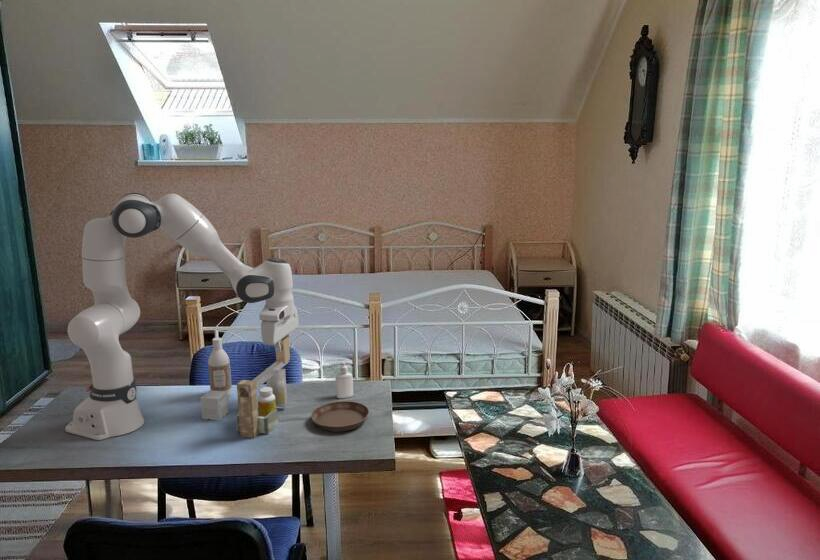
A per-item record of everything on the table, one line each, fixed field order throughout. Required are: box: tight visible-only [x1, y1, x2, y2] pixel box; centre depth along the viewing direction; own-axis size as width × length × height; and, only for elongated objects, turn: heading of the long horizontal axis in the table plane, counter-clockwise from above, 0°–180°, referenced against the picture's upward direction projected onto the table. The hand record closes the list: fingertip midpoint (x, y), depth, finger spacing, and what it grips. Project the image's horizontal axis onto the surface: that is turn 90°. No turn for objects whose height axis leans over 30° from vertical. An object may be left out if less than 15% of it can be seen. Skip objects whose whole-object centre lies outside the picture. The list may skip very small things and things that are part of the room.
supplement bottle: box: [257, 386, 277, 417], centre depth 196 cm, size 5×5×10 cm
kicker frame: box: [235, 379, 279, 439], centre depth 187 cm, size 10×10×17 cm
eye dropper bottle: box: [335, 362, 354, 399], centre depth 211 cm, size 4×6×12 cm
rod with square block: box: [244, 336, 291, 408], centre depth 196 cm, size 6×26×21 cm, turn 166°
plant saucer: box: [311, 400, 370, 433], centre depth 194 cm, size 18×18×3 cm
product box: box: [200, 389, 229, 421], centre depth 198 cm, size 6×6×7 cm
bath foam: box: [207, 337, 233, 397], centre depth 213 cm, size 7×7×20 cm
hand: (282, 349), depth 205 cm, fingers closed on rod with square block, 4 cm apart
